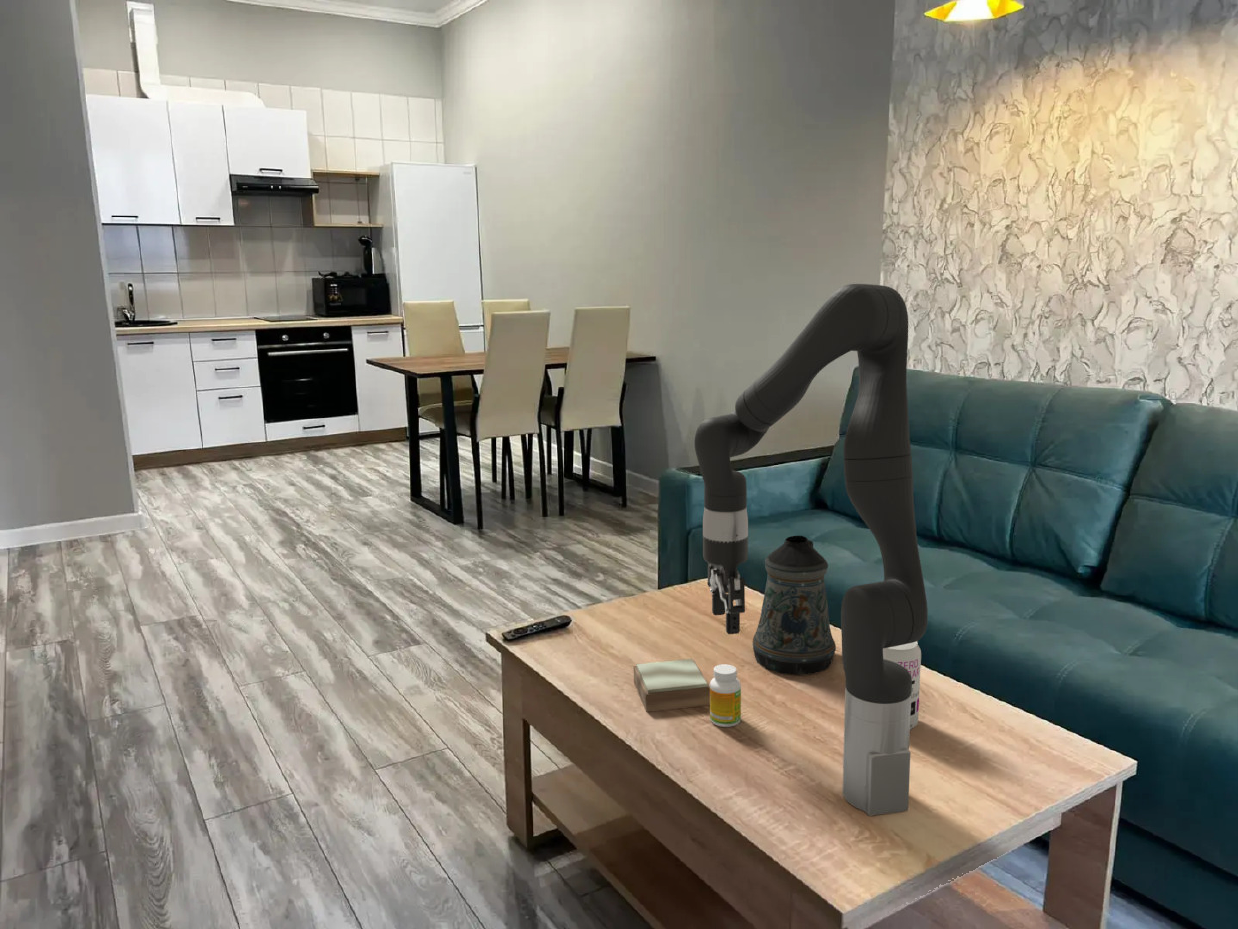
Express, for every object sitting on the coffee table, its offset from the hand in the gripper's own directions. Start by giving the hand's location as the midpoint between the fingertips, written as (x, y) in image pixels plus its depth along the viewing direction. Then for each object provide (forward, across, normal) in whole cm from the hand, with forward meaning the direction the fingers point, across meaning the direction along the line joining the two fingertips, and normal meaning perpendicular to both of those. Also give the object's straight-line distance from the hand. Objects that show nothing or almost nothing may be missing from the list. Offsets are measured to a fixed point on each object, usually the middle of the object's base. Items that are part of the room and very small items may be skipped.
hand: (725, 623), depth 151 cm
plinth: (+18, +12, +7) cm, 23 cm away
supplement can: (+18, -7, -28) cm, 34 cm away
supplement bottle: (+18, 0, 0) cm, 18 cm away
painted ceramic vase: (+18, +23, -21) cm, 36 cm away
